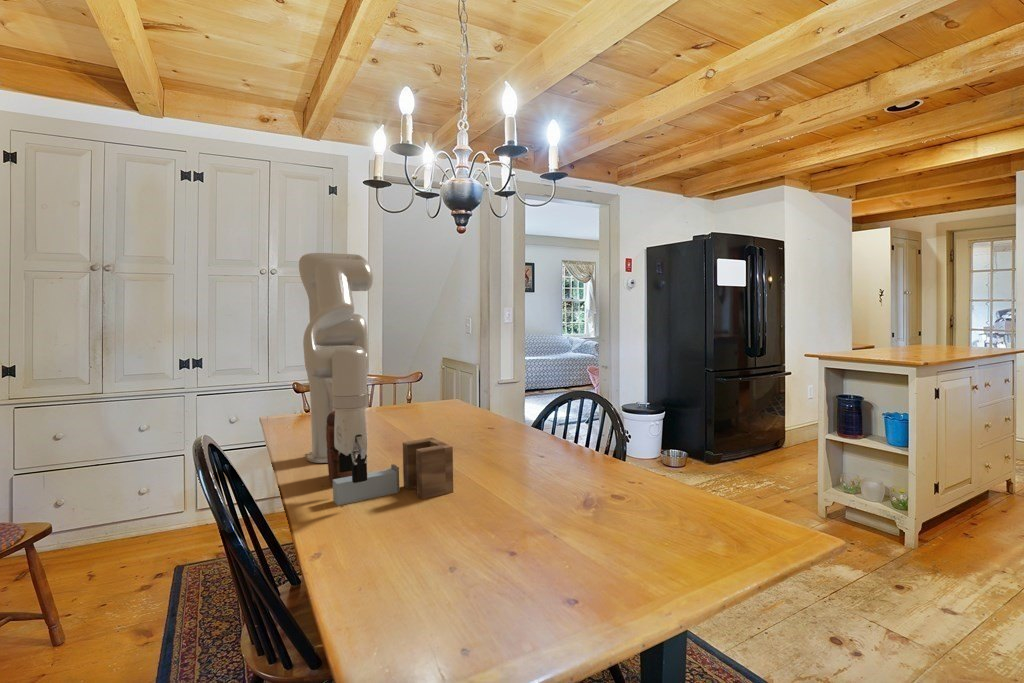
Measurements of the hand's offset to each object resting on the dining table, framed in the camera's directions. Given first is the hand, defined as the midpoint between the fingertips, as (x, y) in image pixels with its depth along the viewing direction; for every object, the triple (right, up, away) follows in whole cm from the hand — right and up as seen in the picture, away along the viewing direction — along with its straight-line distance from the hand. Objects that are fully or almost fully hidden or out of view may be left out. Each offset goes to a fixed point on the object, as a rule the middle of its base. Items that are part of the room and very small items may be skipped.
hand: (352, 476), depth 118 cm
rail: (+2, -5, +3) cm, 6 cm away
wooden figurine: (-8, -5, +15) cm, 18 cm away
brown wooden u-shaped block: (+16, -5, +7) cm, 18 cm away
